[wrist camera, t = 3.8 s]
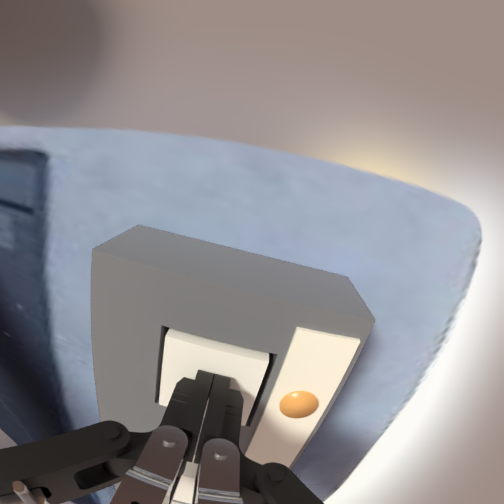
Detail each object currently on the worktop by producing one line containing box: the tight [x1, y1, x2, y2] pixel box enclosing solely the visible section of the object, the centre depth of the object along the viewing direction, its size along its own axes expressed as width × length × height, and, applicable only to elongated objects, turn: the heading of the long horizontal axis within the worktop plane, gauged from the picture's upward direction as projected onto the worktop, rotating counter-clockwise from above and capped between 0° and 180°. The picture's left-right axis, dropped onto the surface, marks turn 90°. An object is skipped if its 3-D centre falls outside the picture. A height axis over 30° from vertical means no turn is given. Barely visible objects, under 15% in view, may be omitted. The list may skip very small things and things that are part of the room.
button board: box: [91, 225, 375, 504], centre depth 17 cm, size 28×12×5 cm, turn 166°
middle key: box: [173, 455, 198, 504], centre depth 15 cm, size 4×4×3 cm
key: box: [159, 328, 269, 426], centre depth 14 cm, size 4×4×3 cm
